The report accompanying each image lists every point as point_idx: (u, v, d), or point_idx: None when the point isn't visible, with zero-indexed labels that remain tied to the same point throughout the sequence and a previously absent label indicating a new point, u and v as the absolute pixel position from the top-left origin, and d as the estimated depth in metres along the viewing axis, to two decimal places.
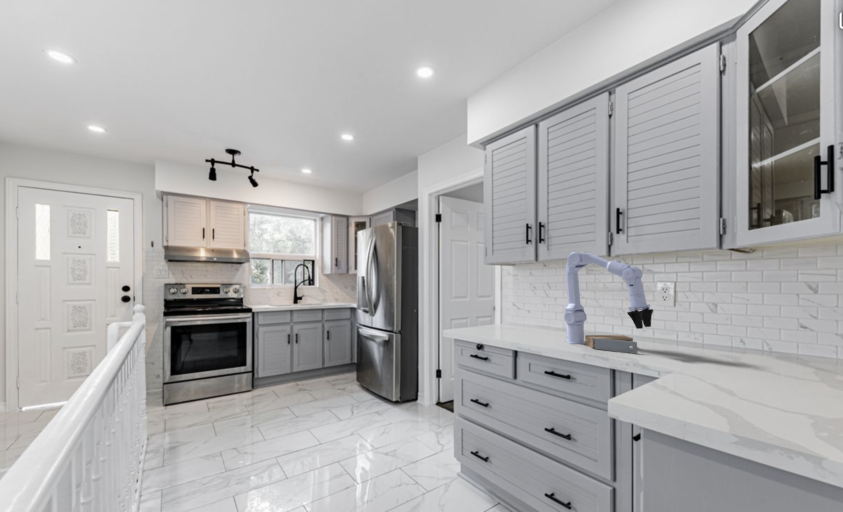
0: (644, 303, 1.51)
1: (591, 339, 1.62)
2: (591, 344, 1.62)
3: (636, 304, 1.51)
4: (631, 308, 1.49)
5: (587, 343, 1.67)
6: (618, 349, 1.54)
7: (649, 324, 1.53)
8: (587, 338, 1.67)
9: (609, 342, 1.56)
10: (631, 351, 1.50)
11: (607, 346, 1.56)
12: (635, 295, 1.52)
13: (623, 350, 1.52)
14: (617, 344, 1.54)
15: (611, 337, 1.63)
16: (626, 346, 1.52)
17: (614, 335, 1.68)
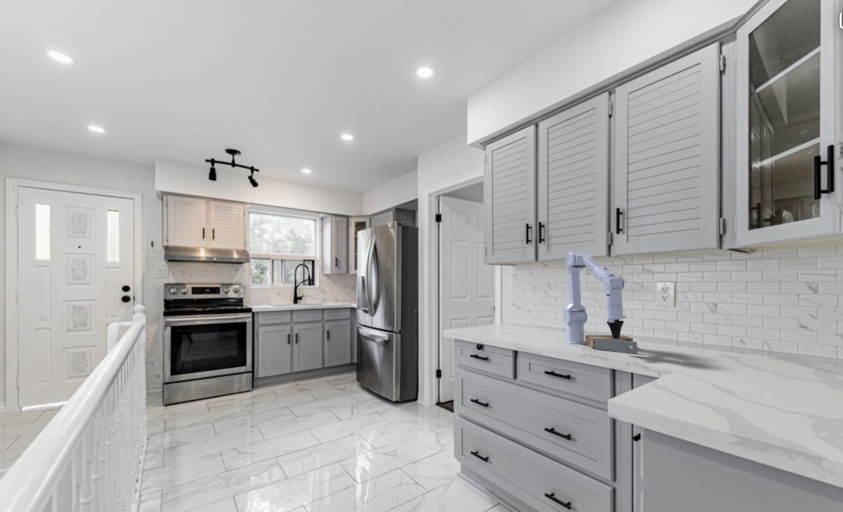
0: (621, 314, 1.48)
1: (591, 339, 1.62)
2: (591, 344, 1.62)
3: (614, 315, 1.48)
4: (610, 319, 1.45)
5: (587, 343, 1.67)
6: (618, 349, 1.54)
7: None
8: (587, 338, 1.67)
9: (609, 342, 1.56)
10: (631, 351, 1.50)
11: (607, 346, 1.56)
12: (614, 306, 1.48)
13: (623, 350, 1.52)
14: (617, 344, 1.54)
15: (611, 337, 1.63)
16: (626, 346, 1.52)
17: None
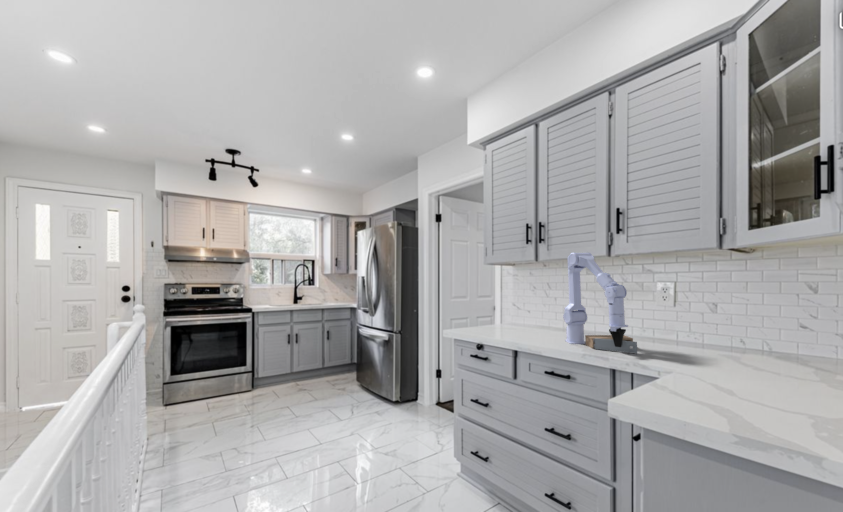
0: (623, 323, 1.51)
1: (591, 339, 1.62)
2: (591, 344, 1.62)
3: (616, 323, 1.51)
4: (613, 328, 1.47)
5: (587, 343, 1.67)
6: (618, 349, 1.54)
7: None
8: (587, 338, 1.67)
9: (609, 342, 1.56)
10: (631, 351, 1.50)
11: (607, 346, 1.56)
12: (616, 314, 1.51)
13: (623, 350, 1.52)
14: None
15: (611, 337, 1.63)
16: (626, 346, 1.52)
17: None
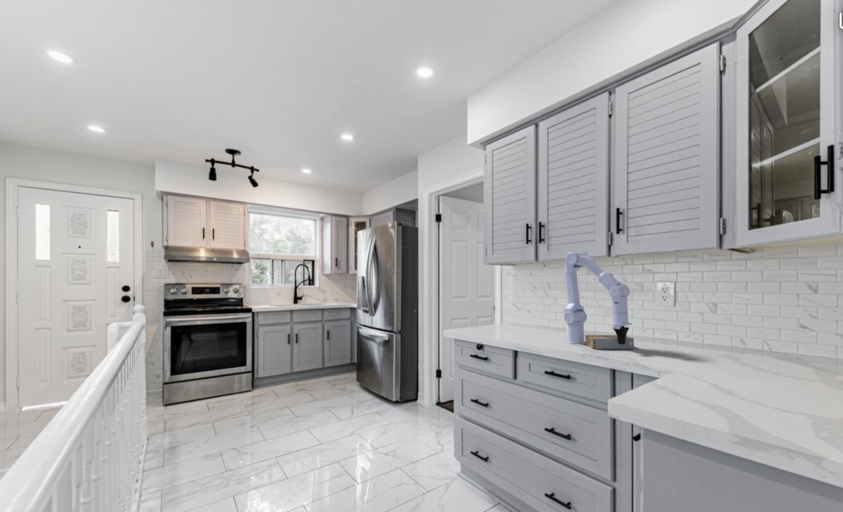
0: (627, 321, 1.56)
1: (591, 339, 1.62)
2: (591, 344, 1.62)
3: (620, 321, 1.56)
4: (617, 326, 1.52)
5: (587, 343, 1.67)
6: (617, 347, 1.59)
7: (623, 342, 1.56)
8: (587, 338, 1.67)
9: (609, 340, 1.59)
10: (629, 347, 1.58)
11: (607, 345, 1.59)
12: (620, 313, 1.56)
13: (622, 347, 1.59)
14: (616, 342, 1.59)
15: (611, 337, 1.63)
16: None
17: (614, 335, 1.68)
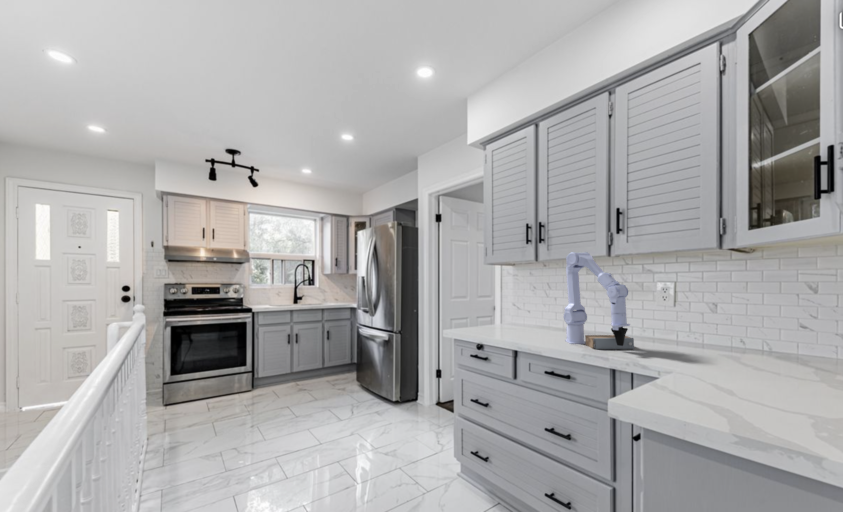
0: (625, 322, 1.53)
1: (591, 339, 1.62)
2: (591, 344, 1.62)
3: (618, 322, 1.53)
4: (615, 327, 1.50)
5: (587, 343, 1.67)
6: (617, 346, 1.59)
7: None
8: (587, 338, 1.67)
9: (609, 340, 1.59)
10: (629, 347, 1.58)
11: (607, 345, 1.59)
12: (618, 314, 1.53)
13: (622, 347, 1.59)
14: None
15: (611, 337, 1.63)
16: (624, 343, 1.59)
17: None
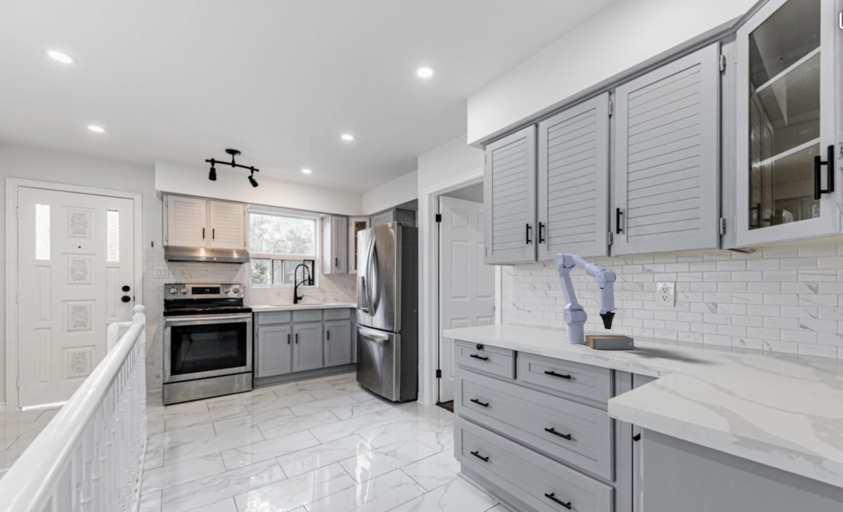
0: (613, 306, 1.58)
1: (591, 339, 1.62)
2: (591, 344, 1.62)
3: (606, 307, 1.58)
4: (603, 311, 1.54)
5: (587, 343, 1.67)
6: (617, 346, 1.59)
7: None
8: (587, 338, 1.67)
9: (609, 340, 1.59)
10: (629, 347, 1.58)
11: (607, 345, 1.59)
12: (606, 298, 1.58)
13: (622, 347, 1.59)
14: (616, 342, 1.59)
15: (611, 337, 1.63)
16: (624, 343, 1.59)
17: (614, 335, 1.68)
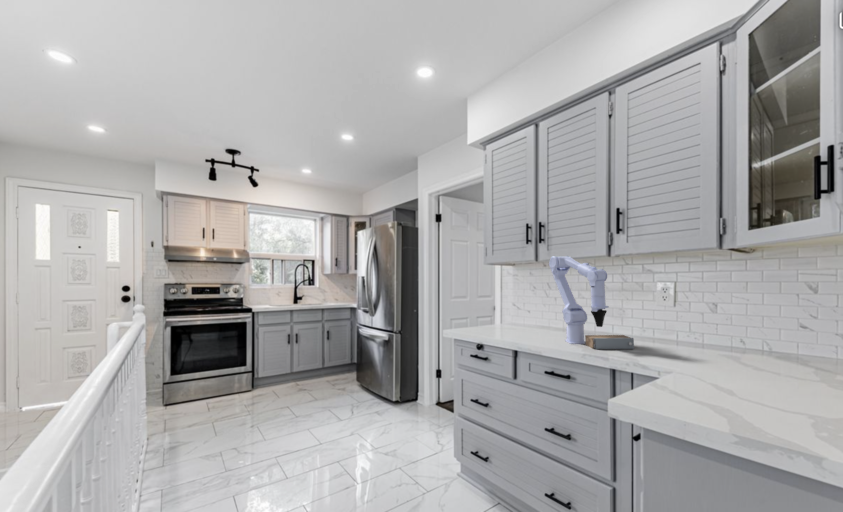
0: (604, 304, 1.61)
1: (591, 339, 1.62)
2: (591, 344, 1.62)
3: (597, 305, 1.61)
4: (594, 308, 1.58)
5: (587, 343, 1.67)
6: (617, 346, 1.59)
7: None
8: (587, 338, 1.67)
9: (609, 340, 1.59)
10: (629, 347, 1.58)
11: (607, 345, 1.59)
12: (598, 296, 1.61)
13: (622, 347, 1.59)
14: (616, 342, 1.59)
15: (611, 337, 1.63)
16: (624, 343, 1.59)
17: (614, 335, 1.68)
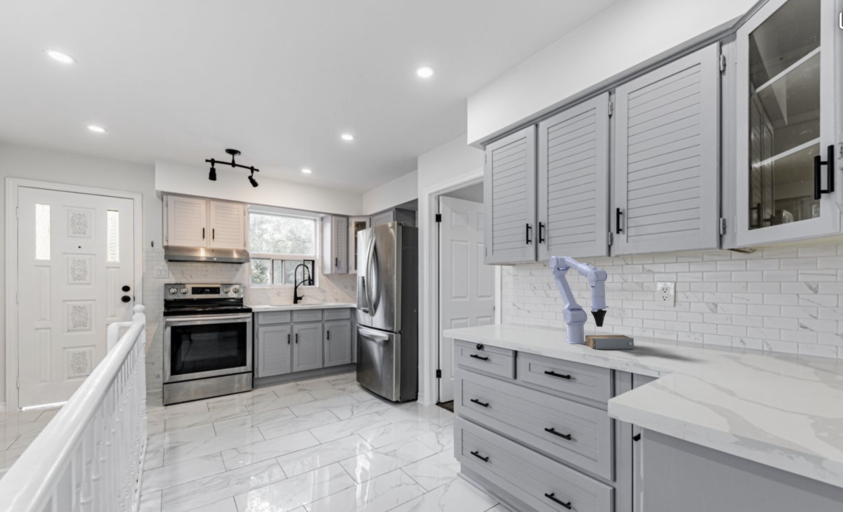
0: (604, 304, 1.61)
1: (591, 339, 1.62)
2: (591, 344, 1.62)
3: (597, 305, 1.61)
4: (594, 308, 1.58)
5: (587, 343, 1.67)
6: (617, 346, 1.59)
7: None
8: (587, 338, 1.67)
9: (609, 340, 1.59)
10: (629, 347, 1.58)
11: (607, 345, 1.59)
12: (598, 296, 1.61)
13: (622, 347, 1.59)
14: (616, 342, 1.59)
15: (611, 337, 1.63)
16: (624, 343, 1.59)
17: (614, 335, 1.68)
